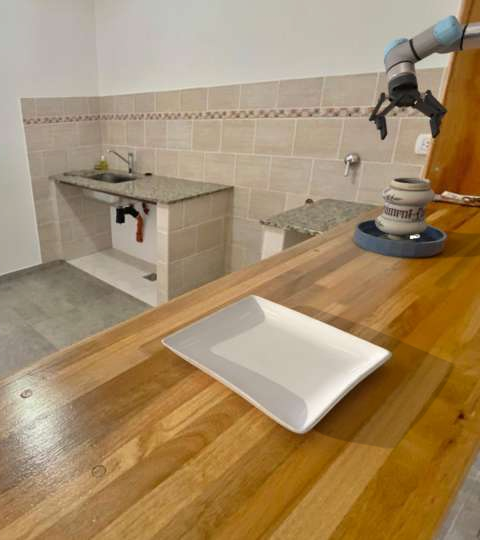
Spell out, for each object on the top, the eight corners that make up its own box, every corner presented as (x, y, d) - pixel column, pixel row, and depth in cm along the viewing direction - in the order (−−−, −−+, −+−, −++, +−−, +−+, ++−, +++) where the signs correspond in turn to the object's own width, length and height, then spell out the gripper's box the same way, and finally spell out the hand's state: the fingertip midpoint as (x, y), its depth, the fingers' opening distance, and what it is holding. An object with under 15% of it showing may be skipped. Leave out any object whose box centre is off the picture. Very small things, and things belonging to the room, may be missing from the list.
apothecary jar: (365, 243, 111) (378, 181, 104) (379, 232, 118) (392, 174, 111) (414, 253, 103) (433, 186, 95) (426, 241, 110) (444, 178, 102)
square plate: (299, 455, 49) (303, 433, 48) (158, 356, 70) (158, 338, 68) (390, 368, 63) (396, 348, 62) (251, 306, 84) (252, 291, 82)
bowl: (439, 238, 113) (444, 224, 111) (444, 264, 97) (449, 248, 95) (356, 229, 124) (359, 216, 123) (348, 251, 109) (351, 236, 107)
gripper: (441, 88, 123) (451, 142, 116) (354, 94, 129) (359, 145, 122) (454, 69, 116) (466, 125, 109) (362, 75, 122) (368, 129, 115)
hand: (409, 136), depth 115 cm, fingers open, 13 cm apart
